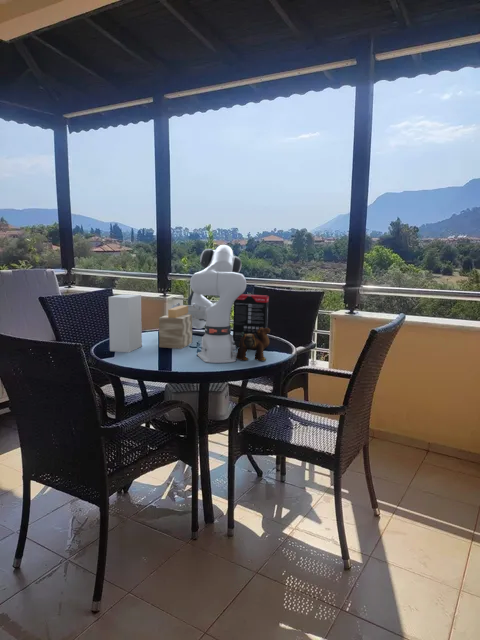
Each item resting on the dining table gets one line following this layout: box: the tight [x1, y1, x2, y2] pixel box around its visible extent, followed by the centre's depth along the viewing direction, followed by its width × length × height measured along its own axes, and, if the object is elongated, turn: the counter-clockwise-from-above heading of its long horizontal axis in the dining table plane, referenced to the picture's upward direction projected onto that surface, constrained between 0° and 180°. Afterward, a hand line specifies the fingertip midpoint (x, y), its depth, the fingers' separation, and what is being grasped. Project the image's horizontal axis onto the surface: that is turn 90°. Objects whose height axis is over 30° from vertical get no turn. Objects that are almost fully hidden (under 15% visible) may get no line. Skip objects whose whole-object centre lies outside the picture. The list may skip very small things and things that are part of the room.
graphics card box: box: [232, 293, 270, 351], centre depth 221 cm, size 17×7×27 cm, turn 76°
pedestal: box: [158, 314, 193, 350], centre depth 226 cm, size 16×12×15 cm
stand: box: [108, 293, 143, 353], centre depth 213 cm, size 14×10×26 cm
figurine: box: [236, 327, 271, 362], centre depth 197 cm, size 9×15×15 cm, turn 84°
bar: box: [167, 304, 188, 318], centre depth 228 cm, size 19×4×4 cm, turn 168°
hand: (185, 304), depth 239 cm, fingers open, 8 cm apart
